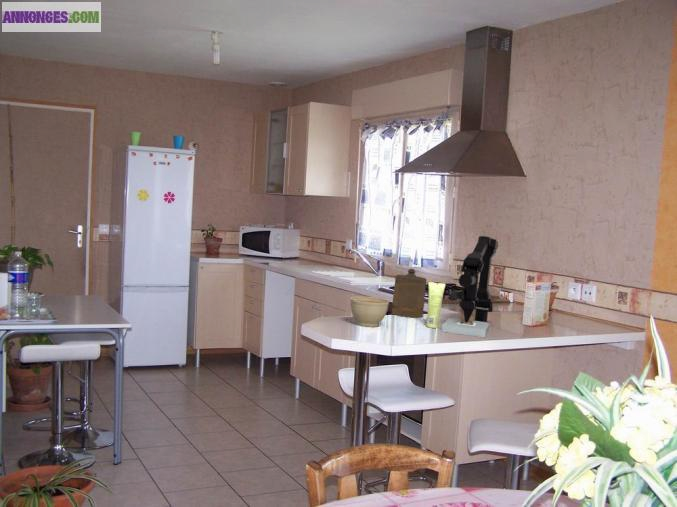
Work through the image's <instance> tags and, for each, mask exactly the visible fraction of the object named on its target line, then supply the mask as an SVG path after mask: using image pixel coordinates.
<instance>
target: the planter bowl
mask: <svg viewBox="0 0 677 507" xmlns="http://www.w3.org/2000/svg"><path fill="white" fill-rule="evenodd" d="M389 305H390V301H389V300H387V299H384V298H380V297H379V298H378V297H373V296H352V297H350V309H351V313H352V316H353V318H354V320H355V322H356V325H358V326H361V327H366V328H369V327H370V328H376V327H379V326H380V323H381V322H382V321H383V320H384V319H385V316H386V315H387V312H388V308H389Z"/></svg>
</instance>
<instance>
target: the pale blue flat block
mask: <svg viewBox="0 0 677 507" xmlns="http://www.w3.org/2000/svg"><path fill="white" fill-rule="evenodd" d="M462 321H463V320H461V318H458V317H448V318H447V319H446V320H445V321H444V322H443V323H442V326H441V332H444V333H450V334H458V335H459V334H460V335H464V336H465V335H467V336H472V337H479V338H486V336H487V334H488V332H489V330H490V324H491V323H490V322H488V321H487V322H488V323H487V322H480V321H472V325H468V324H462Z"/></svg>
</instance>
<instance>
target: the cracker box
mask: <svg viewBox="0 0 677 507" xmlns="http://www.w3.org/2000/svg"><path fill="white" fill-rule="evenodd" d="M551 287H552V282H550V281H549V282H547V281H526V283H525V290H524V291H525V292H524V301H523V311H522V313H523V314H522V323H521V324H522V325H523V326H525V325H527V326H526V327H531V328H533V327H539V326H540V327H541V326H547V325H548V318H549V309H550V301H551V300H550V299H551V291H552V290H551V289H552V288H551Z"/></svg>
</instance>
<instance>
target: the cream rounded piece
mask: <svg viewBox="0 0 677 507" xmlns="http://www.w3.org/2000/svg"><path fill="white" fill-rule="evenodd" d="M475 311H476V310H475V309H474V311H473V313H472V315H471V317H470V319H469V321H468V322H465V318H464V310H463V309H462V308H461V312H460V319H461V320H463V321H462V324H468V325H472V321H474V320H475Z"/></svg>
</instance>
